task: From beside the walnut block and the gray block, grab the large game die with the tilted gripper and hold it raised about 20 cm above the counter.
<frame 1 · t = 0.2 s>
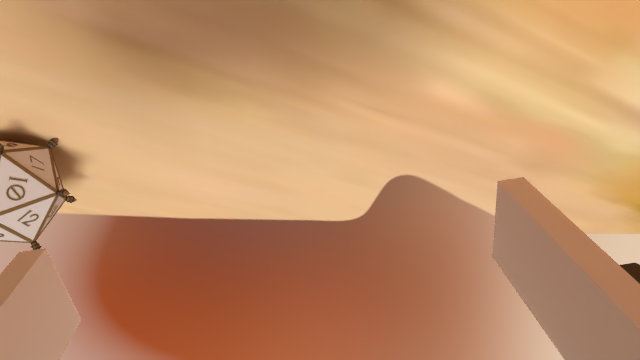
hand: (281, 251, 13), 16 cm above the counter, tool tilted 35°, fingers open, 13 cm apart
game die: (20, 141, 34), on the counter
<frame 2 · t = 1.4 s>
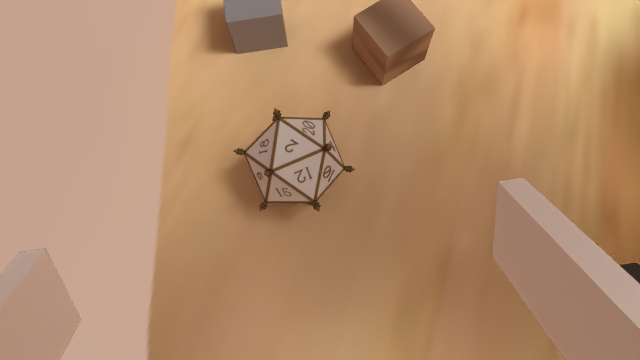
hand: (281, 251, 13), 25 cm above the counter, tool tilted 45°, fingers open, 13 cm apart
game die: (299, 176, 41), on the counter
gray block: (260, 29, 45), on the counter
walnut block: (387, 54, 44), on the counter
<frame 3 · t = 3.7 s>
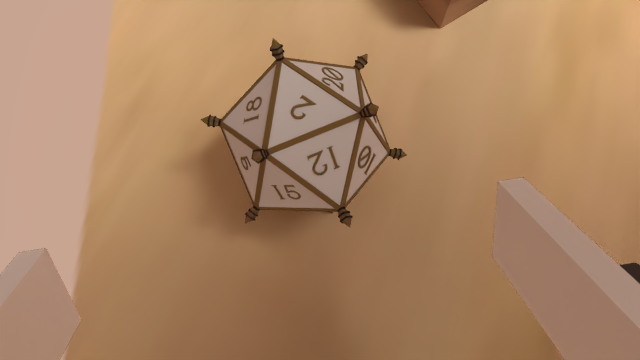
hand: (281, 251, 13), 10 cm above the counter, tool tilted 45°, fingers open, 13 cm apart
game die: (310, 166, 25), on the counter
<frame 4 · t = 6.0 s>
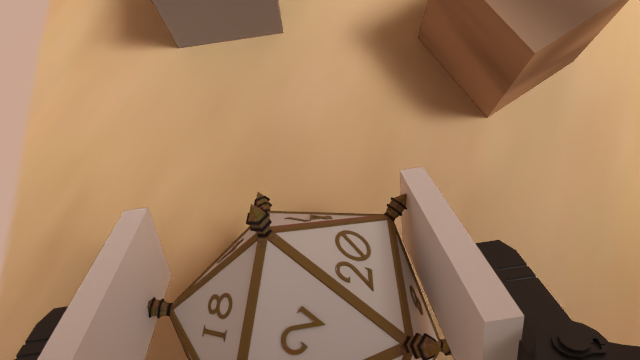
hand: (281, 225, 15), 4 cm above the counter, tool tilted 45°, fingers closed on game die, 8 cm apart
game die: (315, 327, 17), on the counter, touching gripper
walnut block: (493, 50, 21), on the counter
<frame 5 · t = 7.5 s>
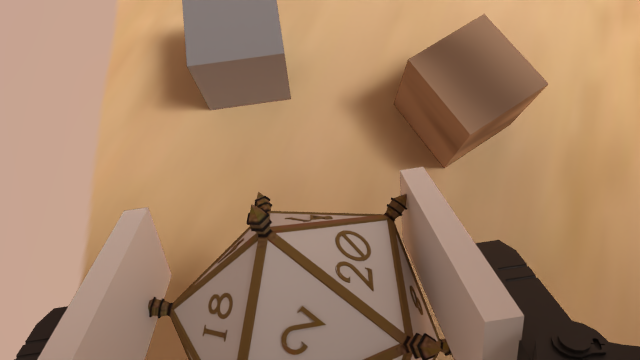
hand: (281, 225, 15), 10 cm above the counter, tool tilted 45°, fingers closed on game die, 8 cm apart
game die: (315, 326, 17), point 6 cm above the counter, touching gripper
gray block: (246, 70, 28), on the counter
walnut block: (450, 115, 27), on the counter
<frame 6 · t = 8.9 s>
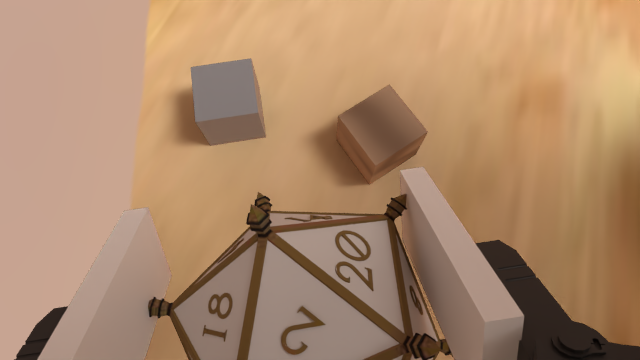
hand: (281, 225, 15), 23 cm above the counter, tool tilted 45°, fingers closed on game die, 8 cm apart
game die: (315, 326, 17), point 19 cm above the counter, touching gripper
gray block: (235, 116, 41), on the counter
walnut block: (375, 147, 40), on the counter
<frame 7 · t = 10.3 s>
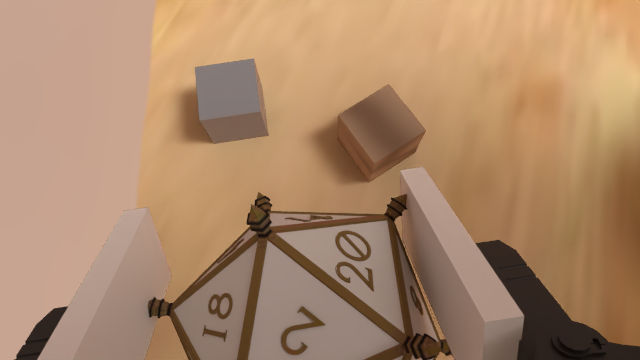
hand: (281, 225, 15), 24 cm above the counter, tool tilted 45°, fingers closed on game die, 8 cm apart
game die: (315, 327, 17), point 20 cm above the counter, touching gripper
gray block: (238, 115, 42), on the counter
walnut block: (375, 146, 41), on the counter
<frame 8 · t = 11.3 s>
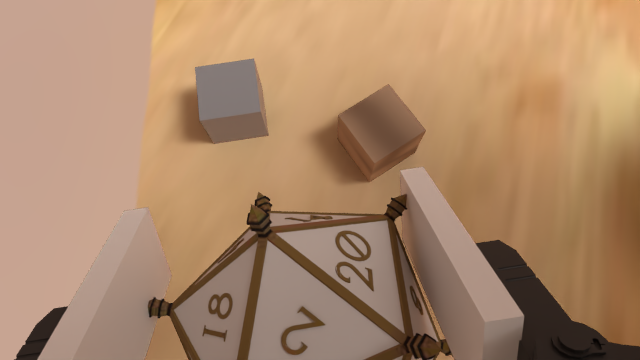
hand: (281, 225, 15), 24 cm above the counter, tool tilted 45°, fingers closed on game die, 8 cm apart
game die: (315, 327, 17), point 20 cm above the counter, touching gripper
gray block: (238, 115, 42), on the counter
walnut block: (375, 146, 41), on the counter
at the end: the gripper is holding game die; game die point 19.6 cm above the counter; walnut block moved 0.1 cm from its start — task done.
